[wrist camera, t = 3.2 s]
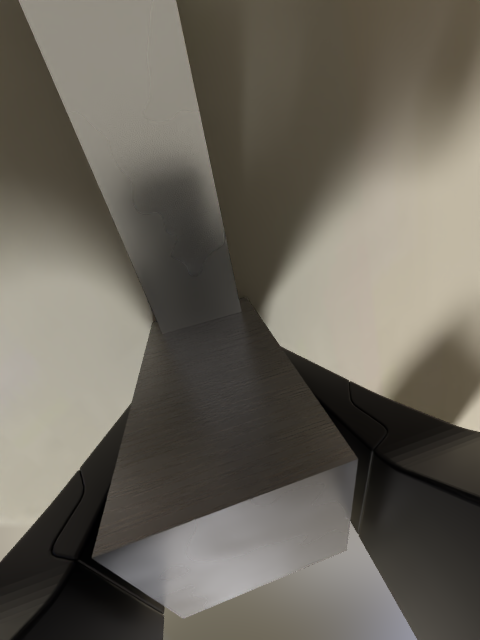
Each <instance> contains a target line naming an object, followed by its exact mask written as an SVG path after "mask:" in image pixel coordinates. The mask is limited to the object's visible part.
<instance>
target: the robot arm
mask: <svg viewBox="0 0 480 640" xmlns="http://www.w3.org/2000/svg"><path fill="white" fill-rule="evenodd" d="M281 348H282V349H283V351H284V352H285V354H286V355H287V357H288V358H289V359H290V361H291V362H292V364H293V365H294V367H295V368H296V370H297V371H298V373H299V374H300V375H301V377H302V378H303V380H304V381H305V383H306V384H307V386H308V387H309V388H310V390H311V391H312V393H313V394H314V396H315V397H316V399H317V400H318V402H319V403H320V404H321V406H322V407H323V409H324V410H325V412H326V413H327V415H328V416H329V417H330V419H331V420H332V422H333V423H334V425H335V426H336V428H337V429H338V431H339V432H340V433H341V435H342V436H343V438H344V439H345V441H346V442H347V444H348V445H349V446H350V448H351V449H352V451H353V452H354V454H355V455H356V457H357V458H358V464H357V472H356V480H355V487H354V495H353V503H352V511H351V519H350V521H351V523H352V525H353V526H354V528H355V530H356V532H357V533H358V534H359V537H360V539H361V541H362V543H363V544H364V546H365V548H366V550H367V551H368V553H369V555H370V557H371V559H372V560H373V562H374V564H375V566H376V567H377V569H378V571H379V573H380V574H381V576H382V578H383V580H384V581H385V583H386V585H387V587H388V588H389V590H390V592H391V594H392V596H393V597H394V599H395V601H396V602H397V604H398V606H399V608H400V610H401V611H402V613H403V615H404V617H405V619H406V620H407V622H408V624H409V626H410V627H411V629H412V631H413V632H414V634H415V636H416V638H417V640H480V432H477V431H473V430H468V429H465V428H462V427H458V426H456V425H453V424H450V423H448V422H445V421H443V420H440V419H438V418H435V417H433V416H430V415H428V414H425V413H423V412H420V411H418V410H415V409H413V408H410V407H408V406H405V405H403V404H400V403H398V402H395V401H393V400H391V399H388V398H386V397H383V396H381V395H379V394H377V393H374V392H372V391H370V390H368V389H366V388H364V387H362V386H360V385H358V384H356V383H354V382H351V381H350V382H349V380H347V379H345V378H343V377H341V376H339V375H337V374H335V373H333V372H331V371H329V370H327V369H325V368H323V367H321V366H319V365H317V364H315V363H313V362H311V361H309V360H307V359H305V358H303V357H301V356H299V355H297V354H295V353H293V352H291V351H289V350H287V349H285V348H283V347H281ZM131 404H132V403H131ZM131 404H130V405H129V407H128V408H127V409H126V410H125V412H124V413H123V414H122V415H121V417H120V418H119V419H118V421H117V422H116V423H115V424H114V426H113V427H112V428H111V429H110V431H109V432H108V433H107V434H106V436H105V437H104V438H103V440H102V441H101V442H100V443H99V445H98V446H97V447H96V448H95V450H94V451H93V452H92V453H91V455H90V456H89V457H88V458H87V460H86V461H85V462H84V464H83V465H82V466H81V467H80V470H79V471H77V472H76V474H75V475H74V476H73V477H72V479H71V480H70V481H69V482H68V484H67V485H66V486H65V487H64V489H63V490H62V491H61V492H60V493H59V495H58V496H57V497H56V498H55V500H54V501H53V502H52V503H51V504H50V506H49V507H48V508H47V509H46V510H45V512H44V513H43V514H42V515H41V516H40V517H39V518H38V520H37V521H36V522H35V523H34V524H33V525H32V527H31V528H30V529H29V530H28V531H27V532H26V534H25V535H24V536H23V537H22V538H21V539H20V540H19V541H18V543H17V544H16V545H15V546H14V547H13V548H12V549H11V550H10V552H9V553H8V554H7V555H6V556H5V557H4V558H3V560H2V561H1V562H0V640H163V629H164V615H163V614H164V606H163V605H162V604H160V603H159V602H157V601H156V600H154V599H153V598H151V597H150V596H148V595H147V594H145V593H144V592H142V591H141V590H139V589H138V588H136V587H135V586H133V585H132V584H130V583H129V582H127V581H126V580H124V579H122V578H121V577H119V576H118V575H116V574H115V573H113V572H112V571H110V570H109V569H107V568H106V567H104V566H103V565H101V564H100V563H98V562H97V561H95V560H94V559H92V554H93V551H94V547H95V543H96V539H97V535H98V531H99V527H100V524H101V520H102V516H103V512H104V508H105V504H106V500H107V496H108V493H109V489H110V485H111V481H112V477H113V473H114V469H115V466H116V462H117V458H118V454H119V450H120V446H121V442H122V438H123V435H124V431H125V427H126V423H127V419H128V415H129V411H130V408H131Z"/></svg>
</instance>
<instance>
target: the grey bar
mask: <svg viewBox="0 0 480 640" xmlns="http://www.w3.org/2000/svg"><path fill="white" fill-rule="evenodd" d="M19 3H20V5H21V7H22V10H23V12H24V14H25V17H26V19H27V21H28V23H29V26H30V28H31V30H32V33H33V35H34V37H35V40H36V42H37V44H38V47H39V49H40V51H41V54H42V56H43V58H44V61H45V63H46V65H47V68H48V70H49V72H50V74H51V77H52V79H53V81H54V84H55V86H56V88H57V91H58V93H59V95H60V98H61V100H62V102H63V105H64V107H65V109H66V112H67V114H68V116H69V119H70V121H71V123H72V125H73V128H74V130H75V132H76V135H77V137H78V139H79V142H80V144H81V146H82V149H83V151H84V153H85V156H86V158H87V160H88V163H89V165H90V167H91V169H92V172H93V174H94V176H95V179H96V181H97V183H98V186H99V188H100V190H101V193H102V195H103V197H104V200H105V202H106V204H107V207H108V209H109V211H110V214H111V216H112V218H113V220H114V223H115V225H116V227H117V230H118V232H119V234H120V237H121V239H122V241H123V244H124V246H125V248H126V251H127V253H128V255H129V258H130V260H131V262H132V265H133V267H134V269H135V271H136V274H137V276H138V278H139V281H140V283H141V285H142V288H143V290H144V292H145V295H146V297H147V299H148V302H149V304H150V306H151V309H152V311H153V313H154V316H155V318H156V320H157V321H156V322H152V326H151V330H150V334H149V338H148V342H147V346H146V350H145V353H144V357H143V361H142V365H141V369H140V373H139V377H138V380H137V384H136V388H135V392H134V396H133V400H132V404H131V408H130V411H129V415H128V419H127V423H126V427H125V431H124V435H123V438H122V442H121V446H120V450H119V454H118V458H117V462H116V466H115V469H114V473H113V477H112V481H111V485H110V489H109V493H108V496H107V500H106V504H105V508H104V512H103V516H102V520H101V524H100V527H99V531H98V535H97V539H96V543H95V547H94V551H93V554H92V559H94V560H95V561H97V562H98V563H100V564H101V565H103V566H104V567H106V568H107V569H109V570H110V571H112V572H113V573H115V574H116V575H118V576H119V577H121V578H122V579H124V580H126V581H127V582H129V583H130V584H132V585H133V586H135V587H136V588H138V589H139V590H141V591H142V592H144V593H145V594H147V595H148V596H150V597H151V598H153V599H154V600H156V601H157V602H159V603H160V604H162V605H163V606H165V607H167V608H168V609H169V610H171V611H172V612H174V613H176V614H177V615H179V616H180V617H182V618H186V617H188V616H191V615H193V614H195V613H198V612H200V611H202V610H204V609H207V608H210V607H212V606H215V605H217V604H219V603H222V602H224V601H227V600H229V599H231V598H234V597H236V596H239V595H241V594H243V593H246V592H248V591H250V590H253V589H255V588H258V587H260V586H262V585H265V584H267V583H270V582H272V581H274V580H277V579H279V578H282V577H284V576H286V575H289V574H291V573H294V572H296V571H299V570H301V569H303V568H306V567H308V566H310V565H313V564H315V563H318V562H320V561H322V560H325V559H327V558H330V557H332V556H334V555H337V554H339V553H342V552H344V551H346V550H347V543H348V534H349V527H350V519H351V511H352V503H353V495H354V487H355V480H356V472H357V464H358V458H357V457H356V455H355V454H354V452H353V451H352V449H351V448H350V446H349V445H348V444H347V442H346V441H345V439H344V438H343V436H342V435H341V433H340V432H339V431H338V429H337V428H336V426H335V425H334V423H333V422H332V420H331V419H330V417H329V416H328V415H327V413H326V412H325V410H324V409H323V407H322V406H321V404H320V403H319V402H318V400H317V399H316V397H315V396H314V394H313V393H312V391H311V390H310V388H309V387H308V386H307V384H306V383H305V381H304V380H303V378H302V377H301V375H300V374H299V373H298V371H297V370H296V368H295V367H294V365H293V364H292V362H291V361H290V359H289V358H288V357H287V355H286V354H285V352H284V351H283V349H282V348H281V346H280V345H279V344H278V342H277V341H276V339H275V338H274V336H273V335H272V333H271V332H270V331H269V329H268V328H267V326H266V325H265V323H264V322H263V320H262V319H261V317H260V316H259V315H258V313H257V312H256V310H255V309H254V307H253V306H252V304H251V303H250V302H249V300H248V299H247V297H245V298H241V299H239V297H238V293H237V288H236V283H235V278H234V274H233V269H232V264H231V259H230V255H229V250H228V245H227V240H226V235H225V231H224V226H223V221H222V216H221V212H220V207H219V202H218V197H217V193H216V188H215V183H214V178H213V174H212V169H211V164H210V159H209V155H208V150H207V145H206V140H205V136H204V131H203V126H202V121H201V117H200V112H199V107H198V102H197V98H196V93H195V88H194V83H193V79H192V74H191V69H190V64H189V60H188V55H187V50H186V45H185V41H184V36H183V31H182V26H181V22H180V17H179V12H178V7H177V3H176V0H19Z"/></svg>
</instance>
